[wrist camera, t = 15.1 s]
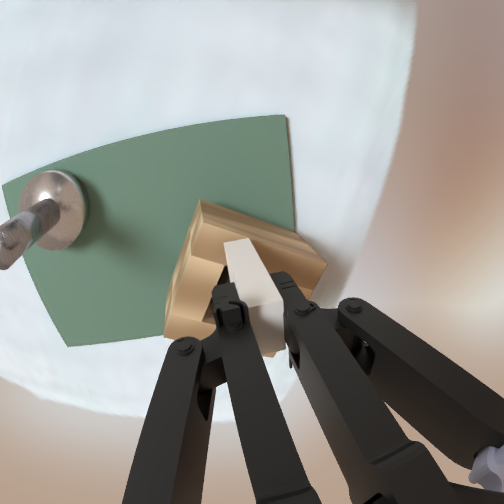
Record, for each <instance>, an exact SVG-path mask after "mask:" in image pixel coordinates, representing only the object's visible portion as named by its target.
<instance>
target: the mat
mask: <svg viewBox="0 0 504 504" xmlns="http://www.w3.org/2000/svg"><path fill="white" fill-rule="evenodd" d="M51 169H65V170H67V171H70V172H71V173H73V174H74V175H76V176H77V177H78V178H79V179H80V180H81V182H82V183H83V185H84V187H85V188H86V191H87V194H88V197H89V202H90V214H89V219H88V222H87V225H86V227H85V228H84V230H83V231H82V233H81V234H80V235H79V236H78V237H77V238H76V239H75V240H74V241H73V242H72V243H71V244H70V245H69V246H68V247H66V248H64V249H61V250H57V251H51V250H46V249H43V248H41V247H39V246H38V245H36V244H35V243H34V244H33V245H32V246H31V247H30V248H29V249H28V250H27V251H26V252H25V253H24V254H23V258H24V260H25V263H26V266H27V268H28V270H29V273H30V275H31V278H32V280H33V282H34V284H35V287H36V289H37V291H38V293H39V295H40V297H41V299H42V301H43V303H44V305H45V307H46V309H47V311H48V313H49V315H50V317H51V319H52V321H53V323H54V325H55V326H56V328H57V330H58V332H59V333H60V335H61V337H62V339H63V340H64V342H65V344H66V345H67V347H71V346H82V345H92V344H100V343H109V342H117V341H125V340H132V339H139V338H146V337H153V336H159V335H164V326H165V312H166V300H167V292H168V289H169V285H170V282H171V279H172V276H173V273H174V270H175V267H176V264H177V261H178V258H179V255H180V252H181V249H182V246H183V243H184V240H185V237H186V235H187V232H188V229H189V226H190V223H191V221H192V218H193V215H194V213H195V210H196V207H197V205H198V202H199V199H202V200H205V201H208V202H211V203H214V204H217V205H220V206H223V207H225V208H228V209H231V210H234V211H237V212H240V213H242V214H245V215H248V216H251V217H254V218H256V219H259V220H262V221H265V222H267V223H270V224H273V225H275V226H278V227H281V228H284V229H286V230H289V231H292V232H294V217H293V201H292V187H291V174H290V161H289V150H288V139H287V129H286V119H285V115H271V116H258V117H248V118H239V119H230V120H222V121H215V122H208V123H202V124H196V125H190V126H184V127H179V128H174V129H169V130H164V131H159V132H155V133H150V134H146V135H142V136H138V137H134V138H130V139H126V140H122V141H119V142H115V143H112V144H108V145H105V146H101V147H98V148H95V149H92V150H89V151H85V152H82V153H79V154H76V155H74V156H71V157H68V158H65V159H62V160H60V161H57V162H54V163H52V164H49V165H47V166H44V167H42V168H39V169H37V170H35V171H32V172H30V173H28V174H25V175H23V176H21V177H19V178H16V179H14V180H12V181H10V182H8V183H6V184H4V185H2V189H3V193H4V197H5V201H6V205H7V209H8V213H9V216H10V219H11V218H13V217H14V216H16V215H17V214H19V202H20V197H21V193H22V191H23V189H24V187H25V185H26V184H27V183H28V181H29V180H30V179H31V178H33V177H34V176H36V175H38V174H40V173H43V172H45V171H48V170H51Z"/></svg>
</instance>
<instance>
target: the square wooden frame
mask: <svg viewBox="0 0 504 504" xmlns="http://www.w3.org/2000/svg"><path fill="white" fill-rule="evenodd" d="M246 238H249V239H250V241H251V243H252V245H253V246H254V248H255V250H256V252H257V254H258V255H259V257H260V259H261V261H262V263H263V264H264V266H265V268H266V270H267V272H268V273H269V274H271V273H276V272H281V271H284V272H286V273H288V274H289V275H291V277H292V278H293V280H294V282H295V283H296V284H297V286H298V287H299V289H300V290H301V291H302V293H303V294H304V296H305V297H306V299H307V300H308V299H309V297H310V295H311V294H312V292H313V290H314V288H315V286H316V285H317V283H318V281H319V279H320V277H321V276H322V274H323V272H324V270H325V268H326V266H327V263H326V262H325V261H324V260H323V259H322V258H321V257H320V256H319V255H318V254H317V253H316V252H315V251H314V250H313V249H312V248H311V247H310V246H309V245H308V244H307V243H306V242H305V241H304V240H303V239H302V238H301V237H300V236H299V235H298V234H297V233H294V232H292V231H289V230H286V229H284V228H281V227H278V226H275V225H273V224H270V223H267V222H265V221H262V220H259V219H256V218H254V217H251V216H248V215H245V214H242V213H240V212H237V211H234V210H231V209H228V208H225V207H223V206H220V205H217V204H214V203H211V202H208V201H205V200H202V199H199V202H198V205H197V207H196V210H195V213H194V215H193V218H192V221H191V223H190V226H189V229H188V232H187V235H186V237H185V240H184V243H183V246H182V249H181V252H180V255H179V258H178V261H177V264H176V267H175V270H174V273H173V276H172V279H171V282H170V285H169V289H168V292H167V300H166V312H165V326H164V337H165V338H169V339H173V340H177V339H179V338H181V337H187V336H190V337H195V338H197V339H199V340H202V339H205V338H207V337H208V336H210V335H211V334H212V333H213V332H214V331H215V329H216V324H215V320H214V315H213V309H214V305H213V299H212V293H211V292H212V290H213V288H214V286H216V285H217V283H218V280H219V278H220V275H221V273H222V271H223V268H224V266H227V260H226V254H225V248H224V242H230V241H235V240H240V239H246ZM276 352H277V351H276ZM276 352H272V353H268V354H264V355H262V356H265V357H274V356H275V354H276Z"/></svg>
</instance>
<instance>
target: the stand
mask: <svg viewBox="0 0 504 504" xmlns="http://www.w3.org/2000/svg"><path fill="white" fill-rule="evenodd" d="M89 214H90V202H89V197H88V194H87V191H86V188H85V187H84V185H83V183H82V182H81V180H80V179H79V178H78V177H77V176H76V175H74V174H73V173H71V172H70V171H67V170H65V169H51V170H48V171H45V172H43V173H40V174H38V175H36V176H34V177H33V178H31V179H30V180H29V181H28V183H27V184H26V185H25V187H24V189H23V191H22V193H21V197H20V202H19V214H17V215H16V216H14V217H13V218H11V219H10V220H8V221H7V222H5V223H4V224H2V225H1V226H0V269H1V270H6V269H8V268H9V267H10V266H11V265H12V264H13V263H14V262H15V261H16V260H17V259H18V258H19V257H20V256H22V255H23V254H24V253H25V252H26V251H27V250H28V249H29V248H30V247H31V246H32V245H33V244H34V243H35V244H36V245H38V246H39V247H41V248H43V249H46V250H51V251H57V250H61V249H64V248H66V247H68V246H69V245H70V244H71V243H72V242H73V241H74V240H75V239H76V238H77V237H78V236H79V235H80V234H81V233H82V231H83V230H84V228H85V227H86V225H87V222H88V219H89Z"/></svg>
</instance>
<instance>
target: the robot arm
mask: <svg viewBox="0 0 504 504" xmlns="http://www.w3.org/2000/svg"><path fill="white" fill-rule="evenodd" d="M224 248H225V254H226V260H227V266H228V272H229V277H230V283H226V284H221V285H216V286H214V288H213V290H212V292H211V293H212V299H213V305H214V309H213V315H214V320H215V324H216V329H215V331H214V332H213V333H212V334H211V335H210V336H208V337H207V338H205V339H202V340H199V339H197V338H195V337H190V336H187V337H181V338H179V339H177V340H175V341H174V342H173V343H171V345H170V346H169V348H168V351H167V354H166V357H165V360H164V363H163V365H162V368H161V371H160V374H159V377H158V380H157V383H156V387H155V390H154V393H153V396H152V399H151V402H150V405H149V408H148V412H147V415H146V418H145V421H144V425H143V428H142V431H141V435H140V438H139V442H138V445H137V448H136V452H135V456H134V460H133V463H132V466H131V470H130V474H129V478H128V481H127V485H126V489H125V493H124V497H123V501H122V504H201V499H202V491H203V483H204V475H205V467H206V460H207V451H208V444H209V436H210V429H211V422H212V415H213V408H214V401H215V393H216V387H217V386H219V385H221V384H223V383H225V382H227V384H228V388H229V393H230V398H231V402H232V407H233V411H234V416H235V420H236V424H237V429H238V433H239V437H240V441H241V445H242V449H243V453H244V457H245V461H246V465H247V469H248V473H249V477H250V480H251V484H252V487H253V491H254V495H255V499H256V504H322V503H321V501H320V499H319V497H318V494H317V493H316V491H315V490H314V489H313V487H312V486H311V484H310V483H309V481H308V478H307V476H306V473H305V471H304V468H303V465H302V463H301V460H300V458H299V455H298V453H297V450H296V447H295V445H294V442H293V439H292V437H291V434H290V432H289V429H288V426H287V424H286V421H285V418H284V416H283V413H282V410H281V408H280V405H279V402H278V399H277V397H276V394H275V391H274V388H273V386H272V383H271V380H270V377H269V375H268V372H267V369H266V366H265V363H264V361H263V358H262V355H264V354H268V353H272V352H276V351H280V350H284V349H286V343H287V345H288V348H289V366H290V368H292V364H293V366H294V368H295V371H296V373H297V375H298V377H299V379H300V381H301V384H302V386H303V388H304V390H305V393H306V395H307V397H308V399H309V401H310V403H311V406H312V408H313V410H314V412H315V415H316V417H317V419H318V421H319V423H320V426H321V428H322V430H323V432H324V434H325V436H326V439H327V441H328V443H329V445H330V447H331V449H332V451H333V454H334V456H335V458H336V460H337V462H338V464H339V467H340V468H341V471H342V473H343V475H344V477H345V479H346V482H347V484H348V487H349V495H350V499H351V501H352V504H504V398H502V397H501V396H500V395H498V394H497V393H496V392H494V391H493V390H492V389H490V388H489V387H488V386H486V385H485V384H483V383H482V382H480V381H479V380H478V379H477V378H475V377H474V376H472V375H471V374H470V373H468V372H467V371H466V370H464V369H463V368H461V367H460V366H458V365H457V364H456V363H454V362H453V361H452V360H450V359H449V358H447V357H446V356H445V355H443V354H442V353H440V352H439V351H437V350H436V349H435V348H433V347H432V346H430V345H429V344H427V343H426V342H425V341H423V340H422V339H420V338H419V337H417V336H416V335H414V334H413V333H412V332H410V331H409V330H407V329H406V328H404V327H403V326H401V325H400V324H399V323H397V322H395V321H394V320H393V319H391V318H390V317H388V316H387V315H385V314H384V313H382V312H381V311H379V310H378V309H376V308H375V307H373V306H372V305H371V304H369V303H367V302H366V301H364V300H362V299H359V298H347V299H344V300H342V301H341V302H340V303H339V305H338V308H336V309H322V308H319V306H318V305H317V304H316V303H314V302H312V301H308V300H307V299H306V297H305V296H304V294H303V293H302V291H301V290H300V289H299V287H298V286H297V284H296V283H295V282H294V280H293V278H292V277H291V275H289V274H288V273H286V272H284V271H281V272H276V273H271V274H269V273H268V272H267V270H266V268H265V266H264V264H263V263H262V261H261V259H260V257H259V255H258V254H257V252H256V250H255V248H254V246H253V245H252V243H251V241H250V239H249V238H246V239H240V240H235V241H230V242H224ZM285 341H286V343H285ZM364 341H365V342H366V343H365V342H364ZM384 402H386V403H387V404H388V405H389V406H390V407H391V408H392V409H393V410H394V411H396V412H397V413H398V414H399V415H400V416H401V417H402V418H403V419H405V420H406V421H407V422H408V423H409V424H410V425H411V426H412V427H413V428H415V429H416V430H417V431H418V432H419V433H420V434H421V435H423V436H424V437H425V438H426V439H427V440H428V441H429V442H430V443H432V444H433V445H434V446H435V447H436V448H438V449H439V450H440V451H441V452H442V453H443V454H444V455H445V456H447V457H448V458H449V459H451V460H452V461H453V462H455V463H457V464H458V465H460V466H462V467H464V468H467V469H470V470H472V471H471V473H470V474H469V481H470V482H471V483H473V484H475V483H478V484H480V485H481V486H482V487H483V488H484V489H479V488H474V487H469V486H464V485H460V484H456V483H452V482H448V481H447V479H446V477H445V476H444V474H443V472H442V471H441V469H440V468H439V466H438V465H437V463H436V461H435V460H434V458H433V457H432V455H431V454H430V452H429V451H428V449H427V448H426V447H425V446H424V445H423V444H422V443H420V442H418V441H411V440H409V439H408V438H407V436H406V435H405V433H404V432H403V430H402V429H401V427H400V426H399V424H398V422H397V421H396V419H395V418H394V416H393V415H392V413H391V412H390V410H389V409H388V407H387V406H386V404H385V403H384Z"/></svg>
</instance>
